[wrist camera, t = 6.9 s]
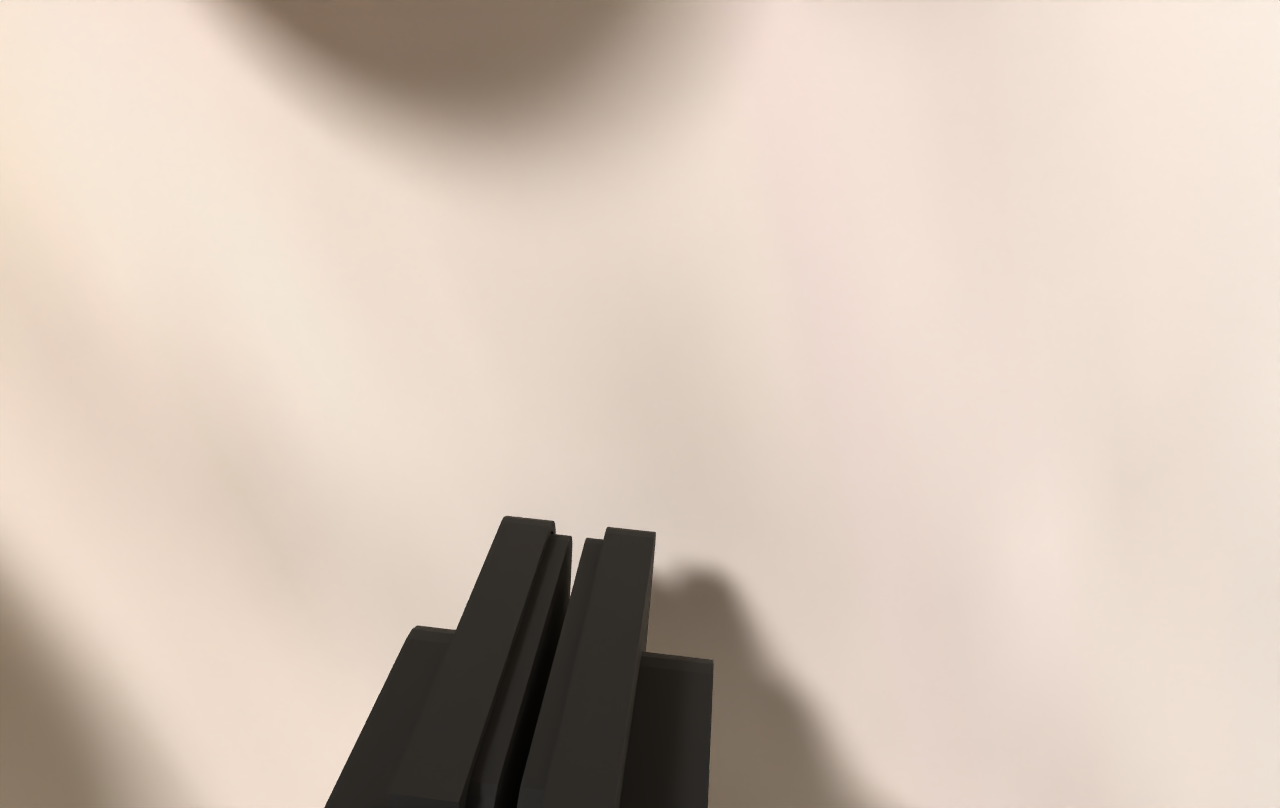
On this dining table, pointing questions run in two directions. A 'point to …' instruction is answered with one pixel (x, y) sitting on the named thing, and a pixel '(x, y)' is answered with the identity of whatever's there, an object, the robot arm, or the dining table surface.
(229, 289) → the dining table surface
